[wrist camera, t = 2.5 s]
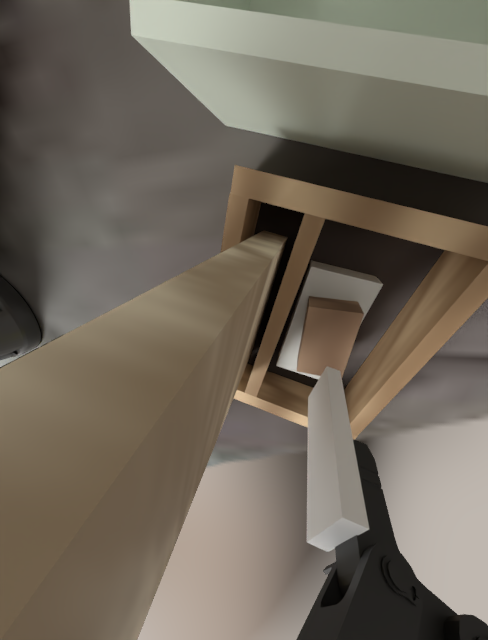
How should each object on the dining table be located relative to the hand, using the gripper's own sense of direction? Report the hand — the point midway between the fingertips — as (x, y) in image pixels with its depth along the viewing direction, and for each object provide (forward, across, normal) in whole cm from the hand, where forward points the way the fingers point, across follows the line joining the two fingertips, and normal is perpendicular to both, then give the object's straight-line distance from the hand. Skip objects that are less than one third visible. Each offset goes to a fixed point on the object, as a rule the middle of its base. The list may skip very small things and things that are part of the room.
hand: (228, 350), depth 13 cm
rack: (+8, +5, 0) cm, 9 cm away
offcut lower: (+9, +6, 0) cm, 11 cm away
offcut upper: (+6, +6, 0) cm, 9 cm away
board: (+8, 0, 0) cm, 8 cm away
